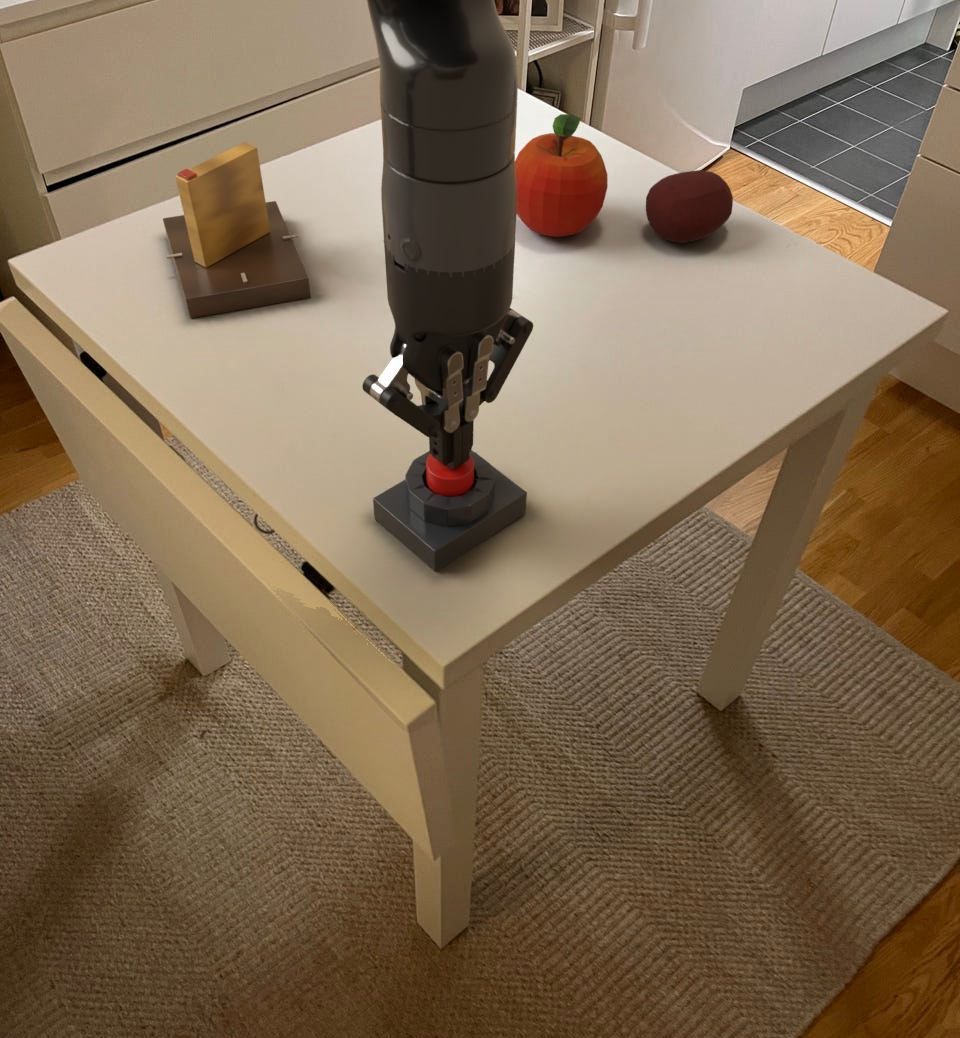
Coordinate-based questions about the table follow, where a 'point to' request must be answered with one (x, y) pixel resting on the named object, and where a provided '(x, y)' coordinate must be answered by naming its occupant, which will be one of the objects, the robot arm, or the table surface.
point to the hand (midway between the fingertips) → (451, 459)
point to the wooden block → (223, 203)
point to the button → (449, 477)
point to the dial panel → (239, 270)
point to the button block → (448, 512)
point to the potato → (688, 205)
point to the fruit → (560, 181)
